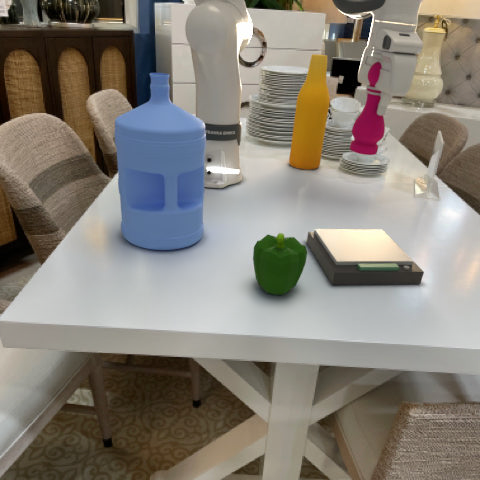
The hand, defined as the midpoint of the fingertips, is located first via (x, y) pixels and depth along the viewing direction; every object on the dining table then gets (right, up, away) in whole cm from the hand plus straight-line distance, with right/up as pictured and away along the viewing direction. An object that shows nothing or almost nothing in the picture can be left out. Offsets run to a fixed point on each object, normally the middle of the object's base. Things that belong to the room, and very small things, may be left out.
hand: (374, 112), depth 104 cm
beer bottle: (-11, 0, +37) cm, 38 cm away
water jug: (-45, -30, -12) cm, 55 cm away
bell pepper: (-24, -41, -27) cm, 54 cm away
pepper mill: (-1, -7, +5) cm, 9 cm away
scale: (-8, -35, -17) cm, 40 cm away
